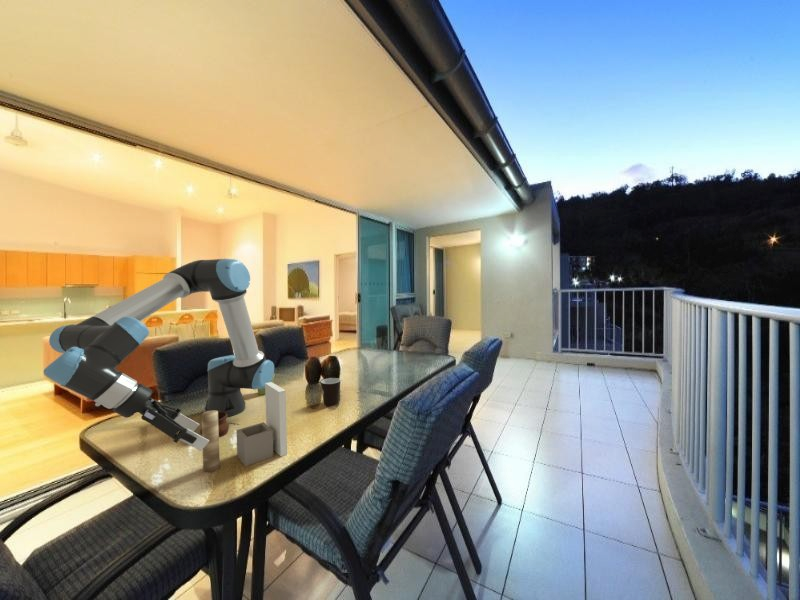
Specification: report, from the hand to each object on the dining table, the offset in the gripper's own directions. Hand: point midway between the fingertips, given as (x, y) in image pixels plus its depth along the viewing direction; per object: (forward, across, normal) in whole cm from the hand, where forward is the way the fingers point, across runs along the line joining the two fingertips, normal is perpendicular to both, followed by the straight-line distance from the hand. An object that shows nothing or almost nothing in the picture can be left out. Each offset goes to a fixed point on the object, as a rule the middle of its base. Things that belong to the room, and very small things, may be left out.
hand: (200, 436), depth 85 cm
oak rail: (+9, -1, -5) cm, 11 cm away
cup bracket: (+18, +1, +4) cm, 19 cm away
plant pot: (+33, -57, +18) cm, 68 cm away
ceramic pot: (+14, -24, -2) cm, 28 cm away
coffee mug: (+46, -23, +31) cm, 60 cm away
